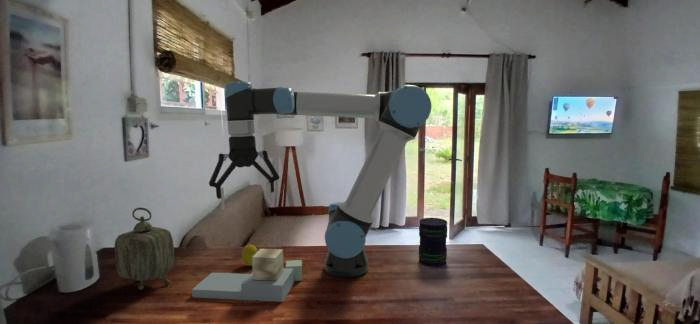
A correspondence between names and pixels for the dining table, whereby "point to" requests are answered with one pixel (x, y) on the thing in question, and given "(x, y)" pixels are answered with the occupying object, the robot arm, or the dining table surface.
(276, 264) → the birch cube
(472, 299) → the dining table surface
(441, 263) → the storage jar
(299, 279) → the sage cube
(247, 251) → the lemon
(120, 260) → the tabletop clock
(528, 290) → the dining table surface
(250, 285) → the stair
